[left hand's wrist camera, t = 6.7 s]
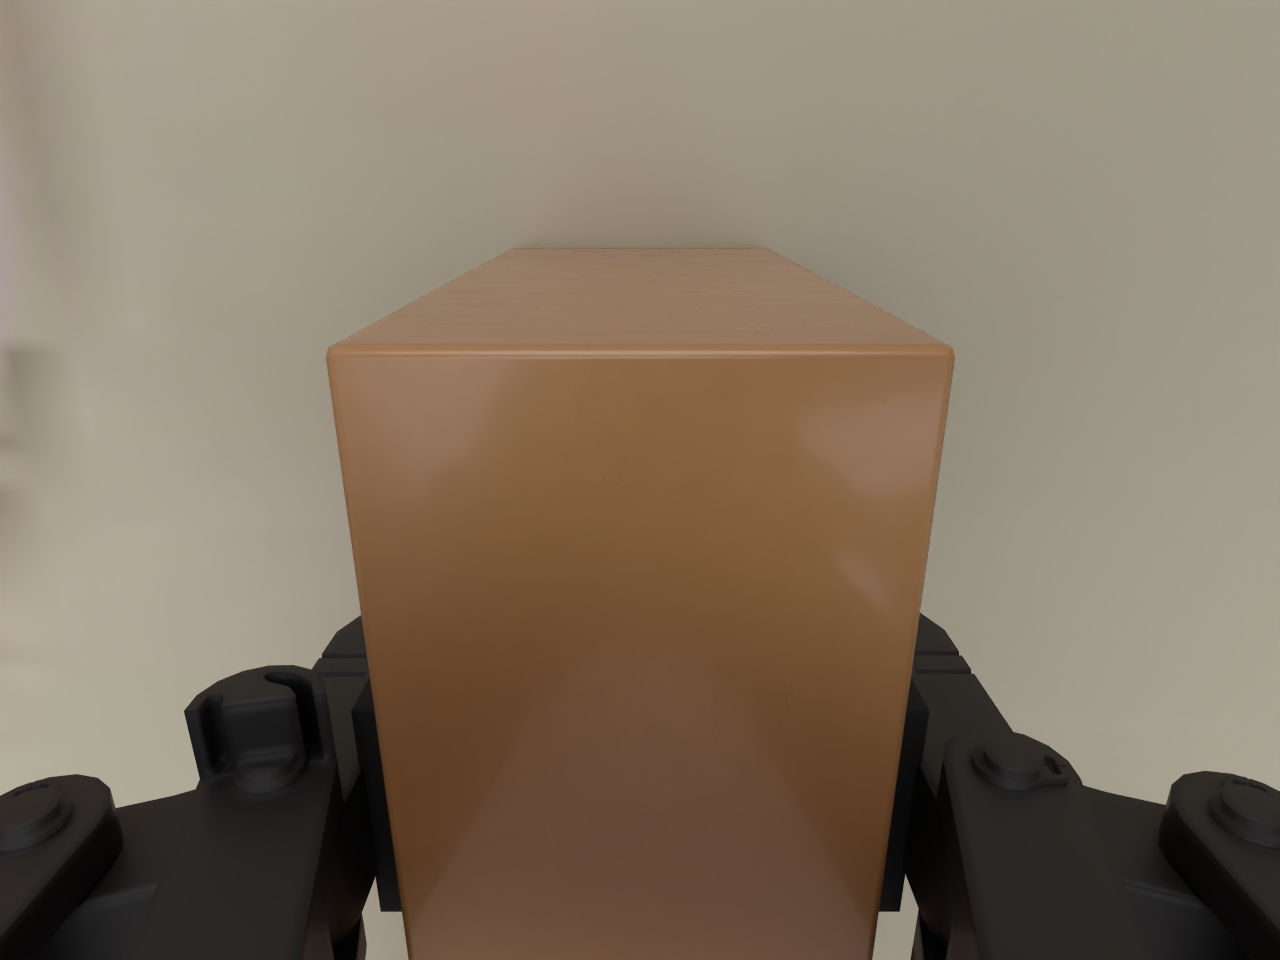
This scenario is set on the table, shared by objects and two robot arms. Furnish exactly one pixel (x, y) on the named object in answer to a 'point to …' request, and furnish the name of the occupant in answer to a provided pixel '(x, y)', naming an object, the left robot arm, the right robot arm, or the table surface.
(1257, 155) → the table surface
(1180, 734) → the table surface
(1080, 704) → the table surface
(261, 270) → the table surface
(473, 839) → the wooden plank
